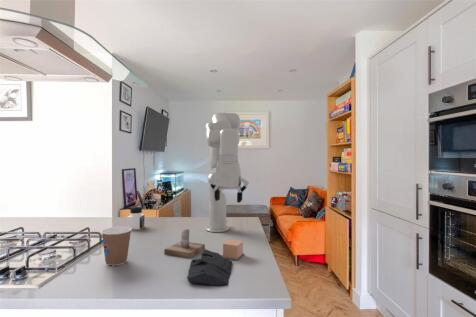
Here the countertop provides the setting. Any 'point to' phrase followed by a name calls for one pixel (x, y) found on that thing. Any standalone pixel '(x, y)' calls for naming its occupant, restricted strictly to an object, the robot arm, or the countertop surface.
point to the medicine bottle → (135, 218)
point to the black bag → (210, 269)
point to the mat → (233, 258)
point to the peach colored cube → (233, 249)
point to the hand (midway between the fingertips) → (228, 201)
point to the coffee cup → (116, 244)
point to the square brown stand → (184, 247)
